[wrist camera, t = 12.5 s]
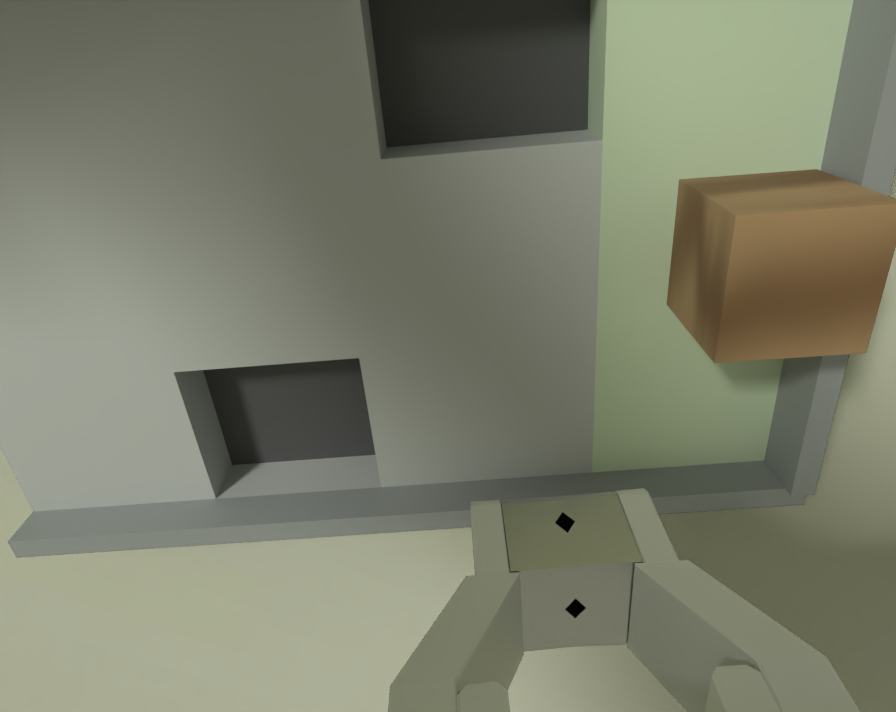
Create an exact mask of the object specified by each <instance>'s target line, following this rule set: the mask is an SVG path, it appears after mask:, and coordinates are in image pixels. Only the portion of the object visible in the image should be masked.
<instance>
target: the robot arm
mask: <svg viewBox="0 0 896 712" xmlns="http://www.w3.org/2000/svg"><path fill="white" fill-rule="evenodd" d="M470 512H471V526H472V540H473V555H474V569H475V575H474V576H466V577H465V579H464V580H463V582H462V583H461V585H460V586H459V587H458V589H457V590H456V592H455V593H454V595H453V596H452V598H451V599H450V600H449V602H448V603H447V605H446V606H445V608H444V609H443V610H442V612H441V613H440V615H439V616H438V618H437V619H436V621H435V622H434V623H433V625H432V626H431V628H430V629H429V631H428V632H427V634H426V635H425V636H424V638H423V639H422V641H421V642H420V644H419V645H418V647H417V648H416V649H415V651H414V652H413V654H412V655H411V657H410V658H409V659H408V661H407V662H406V664H405V665H404V667H403V668H402V670H401V671H400V672H399V674H398V675H397V677H396V678H395V680H394V681H393V683H392V684H391V685H390V693H389V706H388V712H510V706H509V698H508V688H509V686H510V684H511V682H512V680H513V677H514V675H515V673H516V671H517V668H518V666H519V664H520V662H521V660H522V657H523V655H524V653H523V652H524V651H534V650H544V649H554V648H564V647H575V646H599V645H623V644H628V646H627V647H628V648H629V649H630V650H631V651H632V652H633V653H634V655H635V656H636V657H637V658H638V659H639V660H640V661H641V662H642V663H643V664H644V665H645V666H646V667H647V668H648V670H649V671H650V672H651V673H652V674H653V675H654V676H655V677H656V678H657V679H658V680H659V681H660V682H661V684H662V685H663V686H664V687H665V688H666V689H667V690H668V691H669V692H670V693H671V694H672V695H673V696H674V698H675V699H676V700H677V701H678V702H679V703H680V704H681V705H682V706H683V707H684V708H685V709H686V710H687V711H688V712H860V711H859V709H858V707H857V706H856V704H855V703H854V701H853V699H852V698H851V696H850V694H849V693H848V691H847V689H846V688H845V686H844V685H843V683H842V681H841V680H840V678H839V676H838V675H837V673H836V671H835V670H834V668H833V667H832V665H831V663H830V662H829V660H828V658H827V657H826V656H824V655H823V654H822V653H820V652H819V651H817V650H816V649H814V648H813V647H812V646H810V645H809V644H807V643H806V642H805V641H803V640H802V639H800V638H799V637H797V636H796V635H795V634H793V633H792V632H790V631H789V630H787V629H786V628H785V627H783V626H782V625H780V624H779V623H777V622H776V621H775V620H773V619H772V618H770V617H769V616H768V615H766V614H765V613H763V612H762V611H760V610H759V609H758V608H756V607H755V606H753V605H752V604H750V603H749V602H748V601H746V600H745V599H743V598H742V597H740V596H739V595H738V594H736V593H735V592H733V591H732V590H731V589H729V588H728V587H726V586H725V585H723V584H722V583H721V582H719V581H718V580H716V579H715V578H713V577H712V576H711V575H709V574H708V573H706V572H705V571H704V570H702V569H701V568H699V567H698V566H696V565H695V564H694V563H692V562H691V561H689V560H679V559H678V556H677V554H676V552H675V550H674V548H673V545H672V543H671V541H670V539H669V537H668V535H667V532H666V530H665V528H664V526H663V524H662V521H661V519H660V517H659V515H658V513H657V510H656V508H655V506H654V504H653V502H652V499H651V497H650V495H649V493H648V491H646V490H645V489H644V488H641V489H631V490H620V491H615V492H602V493H590V494H578V495H566V496H555V497H536V498H517V499H500V501H499V500H491V501H471V506H470Z"/></svg>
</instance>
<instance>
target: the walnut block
mask: <svg viewBox="0 0 896 712" xmlns="http://www.w3.org/2000/svg"><path fill="white" fill-rule="evenodd" d="M895 247H896V199H895V198H893V197H890V196H887V195H885V194H882V193H879V192H877V191H874V190H871V189H869V188H866V187H863V186H860V185H858V184H855V183H852V182H850V181H847V180H844V179H842V178H839V177H836V176H834V175H831V174H828V173H826V172H823V171H820V170H818V169H812V170H799V171H785V172H772V173H759V174H745V175H732V176H718V177H705V178H691V179H679V186H678V196H677V206H676V216H675V225H674V235H673V245H672V255H671V265H670V275H669V285H668V295H667V306H668V307H669V308H670V309H671V310H672V312H673V313H674V314H675V315H676V317H677V318H678V319H679V320H680V322H681V323H682V324H683V325H684V326H685V328H686V329H687V330H688V331H689V333H690V334H691V335H692V336H693V338H694V339H695V340H696V341H697V342H698V344H699V345H700V346H701V347H702V349H703V350H704V351H705V352H706V354H707V355H708V356H709V357H710V358H711V360H712V361H713V362H714V363H723V362H738V361H753V360H769V359H784V358H799V357H814V356H829V355H845V354H860V353H866V352H867V348H868V344H869V341H870V337H871V334H872V330H873V326H874V323H875V319H876V316H877V312H878V308H879V305H880V301H881V297H882V294H883V290H884V287H885V283H886V279H887V276H888V272H889V268H890V265H891V261H892V258H893V254H894V250H895Z"/></svg>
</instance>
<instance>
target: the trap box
mask: <svg viewBox="0 0 896 712" xmlns="http://www.w3.org/2000/svg"><path fill="white" fill-rule="evenodd" d="M812 169H818V170H820V171H823V172H826V173H828V174H831V175H834V176H836V177H839V178H842V179H844V180H847V181H850V182H852V183H855V184H858V185H860V186H863V187H866V188H869V189H871V190H874V191H877V192H879V193H882V194H885V195H887V196H889V194H890V190H891V186H892V182H893V178H894V174H895V170H896V0H0V448H1V450H2V452H3V454H4V456H5V458H6V460H7V461H8V463H9V465H10V467H11V469H12V471H13V473H14V475H15V477H16V479H17V481H18V483H19V485H20V487H21V488H22V490H23V492H24V494H25V496H26V498H27V500H28V502H29V504H30V506H31V508H32V510H33V513H32V514H31V515H30V516H29V517H28V519H27V520H26V521H25V522H24V523H23V524H22V526H21V527H20V528H19V529H18V530H17V531H16V533H15V534H14V535H13V536H12V537H11V539H10V540H9V541H8V543H9V545H10V547H11V548H12V550H13V552H14V554H15V556H16V557H17V558H19V557H34V556H49V555H64V554H79V553H94V552H108V551H123V550H138V549H153V548H168V547H183V546H197V545H212V544H227V543H242V542H257V541H272V540H286V539H301V538H316V537H331V536H346V535H361V534H375V533H390V532H405V531H420V530H435V529H450V528H464V527H472V526H471V512H470V506H471V501H491V500H499V501H500V499H517V498H536V497H555V496H566V495H578V494H590V493H602V492H615V491H620V490H631V489H641V488H644V489H645V490H646V491H648V493H649V495H650V497H651V499H652V502H653V504H654V506H655V508H656V510H657V513H658V514H672V513H687V512H702V511H717V510H731V509H746V508H761V507H776V506H791V505H804V503H805V498H806V495H814V494H815V490H816V486H817V482H818V478H819V474H820V470H821V466H822V462H823V458H824V454H825V450H826V446H827V442H828V438H829V434H830V430H831V426H832V422H833V418H834V414H835V410H836V406H837V402H838V398H839V394H840V390H841V386H842V382H843V378H844V374H845V370H846V366H847V362H848V358H849V354H845V355H829V356H814V357H799V358H784V359H769V360H753V361H738V362H723V363H714V362H713V361H712V360H711V358H710V357H709V356H708V355H707V354H706V352H705V351H704V350H703V349H702V347H701V346H700V345H699V344H698V342H697V341H696V340H695V339H694V338H693V336H692V335H691V334H690V333H689V331H688V330H687V329H686V328H685V326H684V325H683V324H682V323H681V322H680V320H679V319H678V318H677V317H676V315H675V314H674V313H673V312H672V310H671V309H670V308H669V307H668V306H667V295H668V285H669V275H670V265H671V255H672V245H673V235H674V225H675V216H676V206H677V196H678V186H679V179H691V178H705V177H718V176H732V175H745V174H759V173H772V172H785V171H799V170H812Z"/></svg>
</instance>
